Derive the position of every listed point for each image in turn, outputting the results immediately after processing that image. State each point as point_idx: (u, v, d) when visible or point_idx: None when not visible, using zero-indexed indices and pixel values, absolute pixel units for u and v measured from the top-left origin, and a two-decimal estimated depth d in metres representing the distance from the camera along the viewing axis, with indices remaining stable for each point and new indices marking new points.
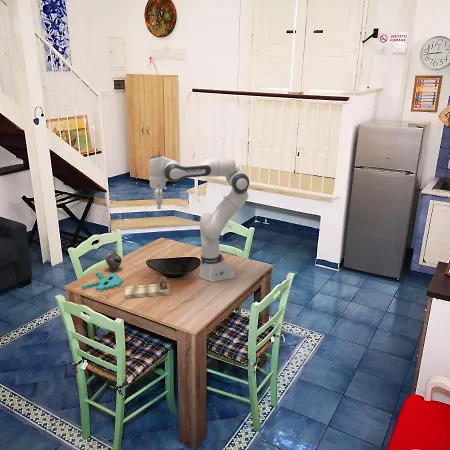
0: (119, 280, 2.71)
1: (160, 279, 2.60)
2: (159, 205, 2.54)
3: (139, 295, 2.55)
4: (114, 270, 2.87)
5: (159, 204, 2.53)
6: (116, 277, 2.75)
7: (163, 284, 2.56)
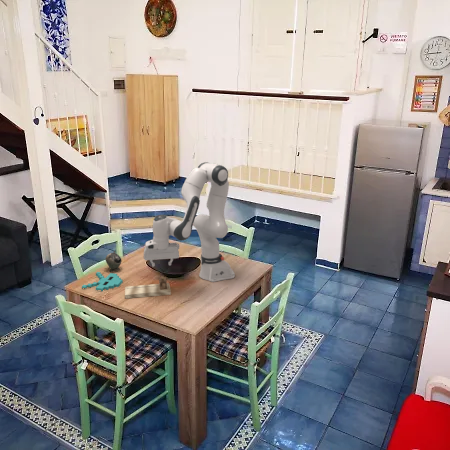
0: (119, 280, 2.71)
1: (160, 279, 2.60)
2: None
3: (139, 295, 2.55)
4: (114, 270, 2.87)
5: None
6: (116, 277, 2.75)
7: (163, 284, 2.56)
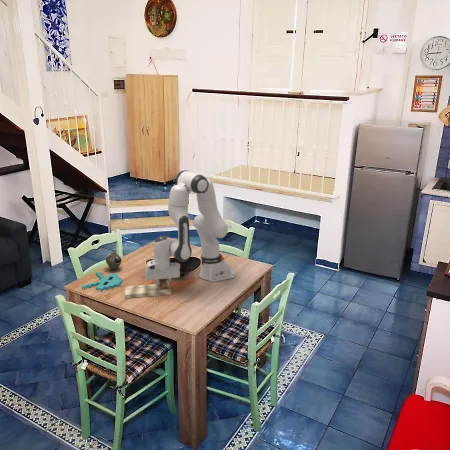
0: (119, 280, 2.71)
1: (160, 279, 2.60)
2: None
3: (139, 295, 2.55)
4: (114, 270, 2.87)
5: None
6: (116, 277, 2.75)
7: (163, 284, 2.56)
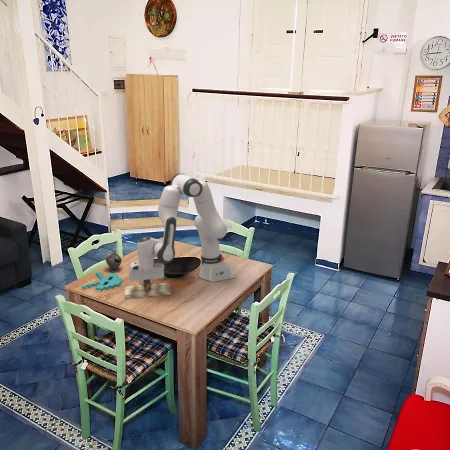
0: (119, 280, 2.71)
1: (144, 280, 2.58)
2: None
3: (139, 295, 2.55)
4: (114, 270, 2.87)
5: None
6: (116, 277, 2.75)
7: (147, 285, 2.54)
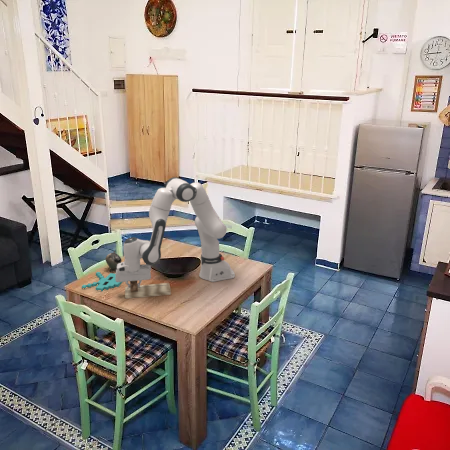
0: None
1: (131, 281, 2.56)
2: None
3: (139, 295, 2.55)
4: (114, 270, 2.87)
5: None
6: None
7: (133, 286, 2.53)
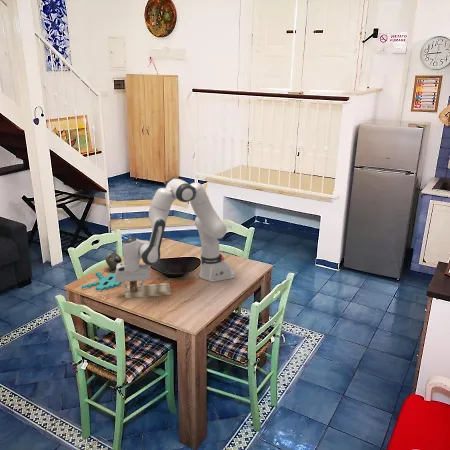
0: None
1: (130, 282, 2.57)
2: None
3: (139, 295, 2.55)
4: (114, 270, 2.87)
5: None
6: None
7: (133, 287, 2.53)
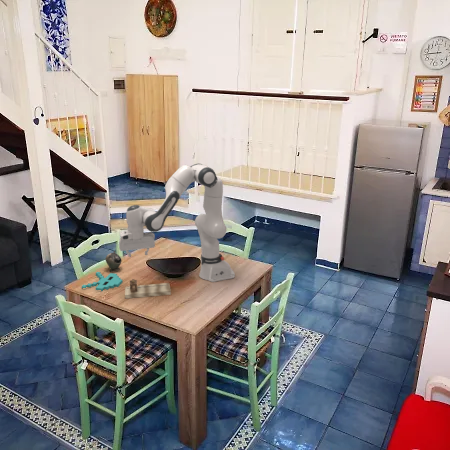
0: (119, 280, 2.71)
1: (130, 282, 2.57)
2: None
3: (139, 295, 2.55)
4: (114, 270, 2.87)
5: None
6: (116, 277, 2.75)
7: (133, 287, 2.53)
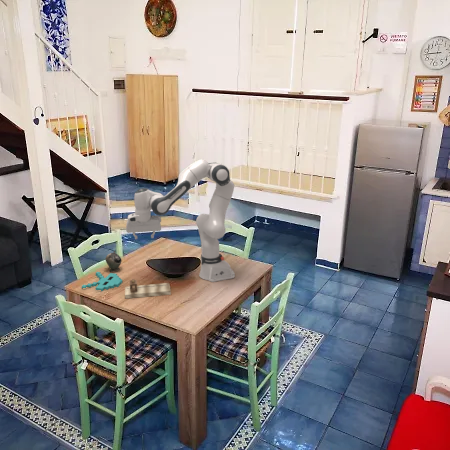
0: (119, 280, 2.71)
1: (130, 282, 2.57)
2: None
3: (139, 295, 2.55)
4: (114, 270, 2.87)
5: None
6: (116, 277, 2.75)
7: (133, 287, 2.53)
